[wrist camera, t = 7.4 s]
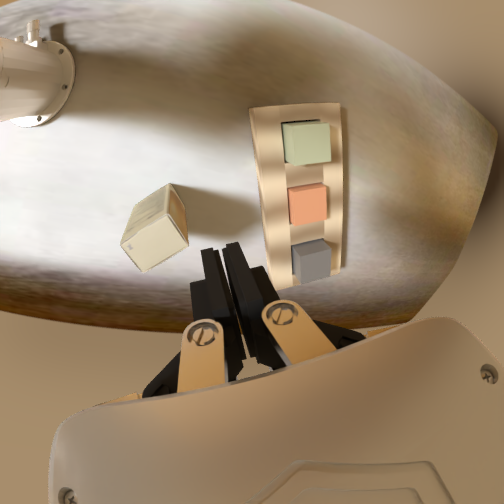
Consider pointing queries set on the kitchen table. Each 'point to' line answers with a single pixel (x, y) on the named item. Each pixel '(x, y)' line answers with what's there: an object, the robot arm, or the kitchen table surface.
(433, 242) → the kitchen table surface
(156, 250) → the skincare box
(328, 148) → the sage key
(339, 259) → the board
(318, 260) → the charcoal key
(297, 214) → the terracotta key
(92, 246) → the kitchen table surface
